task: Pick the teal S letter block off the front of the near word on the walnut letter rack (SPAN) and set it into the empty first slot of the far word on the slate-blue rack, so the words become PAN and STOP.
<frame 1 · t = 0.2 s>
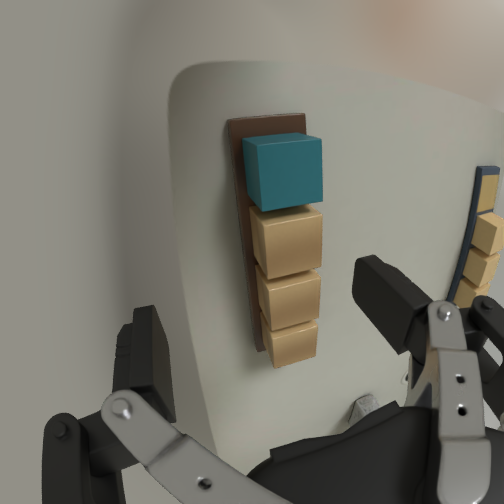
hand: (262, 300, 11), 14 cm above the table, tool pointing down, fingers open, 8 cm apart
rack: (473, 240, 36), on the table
decorative stone: (359, 406, 50), on the table
s tile: (272, 162, 22), point 1 cm above the table, touching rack
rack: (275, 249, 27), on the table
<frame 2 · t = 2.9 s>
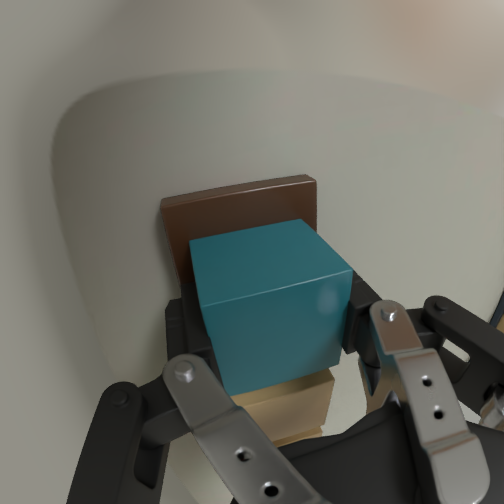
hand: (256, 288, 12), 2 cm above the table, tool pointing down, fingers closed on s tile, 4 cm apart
s tile: (252, 276, 12), point 1 cm above the table, touching gripper, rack
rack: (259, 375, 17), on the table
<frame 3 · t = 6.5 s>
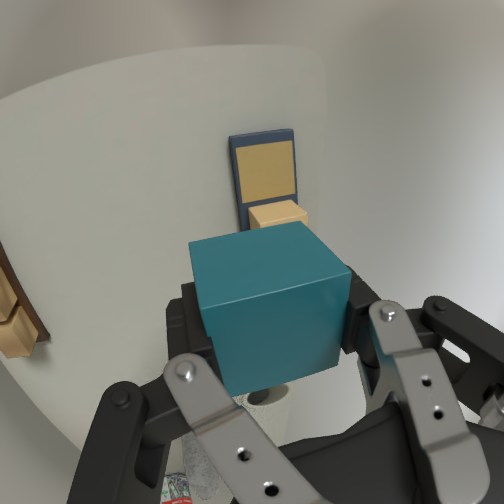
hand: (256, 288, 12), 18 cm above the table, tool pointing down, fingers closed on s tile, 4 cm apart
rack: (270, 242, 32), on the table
decorative stone: (195, 423, 47), on the table
s tile: (251, 278, 12), point 17 cm above the table, touching gripper
ink box: (171, 476, 60), on the table
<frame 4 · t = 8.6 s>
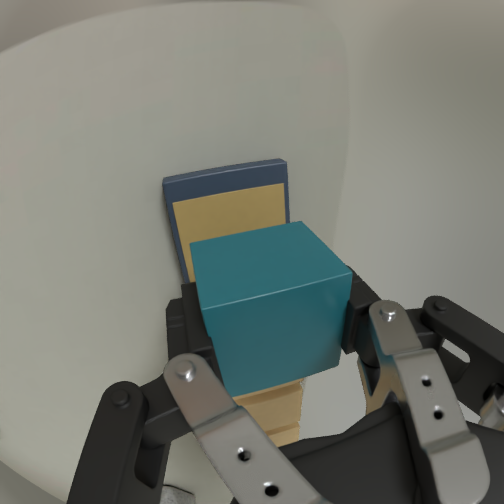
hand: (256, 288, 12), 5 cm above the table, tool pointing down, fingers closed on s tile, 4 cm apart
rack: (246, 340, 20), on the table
decorative stone: (170, 490, 34), on the table
s tile: (252, 278, 12), point 4 cm above the table, touching gripper
when the fingers open (2 cm above the table, at t = 9.9 s): s tile stays where it is, resting on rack.
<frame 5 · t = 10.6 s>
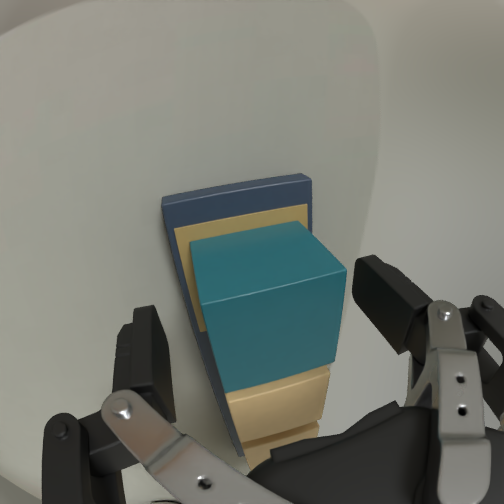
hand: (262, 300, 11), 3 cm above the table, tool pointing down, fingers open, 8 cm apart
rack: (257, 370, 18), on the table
s tile: (250, 276, 13), point 1 cm above the table, touching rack
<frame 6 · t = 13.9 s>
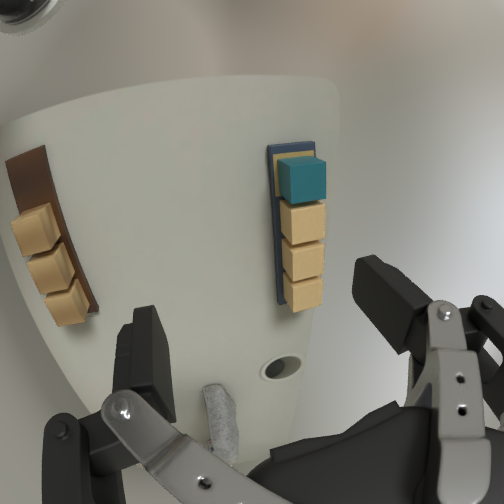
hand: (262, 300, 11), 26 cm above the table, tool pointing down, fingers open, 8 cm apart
pill bottle: (217, 440, 65), on the table
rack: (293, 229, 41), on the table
decorative stone: (217, 396, 55), on the table
s tile: (295, 174, 36), point 1 cm above the table, touching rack
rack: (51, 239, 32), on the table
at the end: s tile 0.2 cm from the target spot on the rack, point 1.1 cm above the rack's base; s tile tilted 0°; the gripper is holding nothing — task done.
